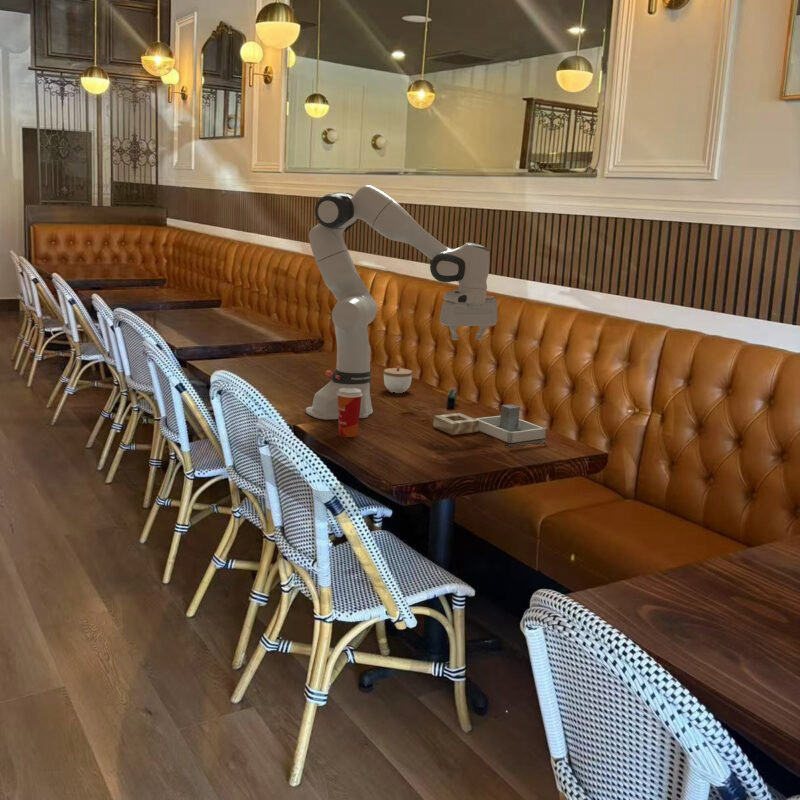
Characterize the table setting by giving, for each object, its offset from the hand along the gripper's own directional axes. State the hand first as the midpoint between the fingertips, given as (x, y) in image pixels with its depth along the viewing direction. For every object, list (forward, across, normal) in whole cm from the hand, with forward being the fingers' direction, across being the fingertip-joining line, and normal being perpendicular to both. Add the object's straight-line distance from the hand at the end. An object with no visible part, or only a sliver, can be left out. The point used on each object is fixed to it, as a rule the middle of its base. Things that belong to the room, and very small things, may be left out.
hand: (466, 339), depth 276 cm
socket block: (+28, +7, +9) cm, 30 cm away
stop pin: (+26, -6, +19) cm, 33 cm away
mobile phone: (+29, -14, -23) cm, 40 cm away
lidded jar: (+30, -7, -48) cm, 57 cm away
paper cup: (+30, +39, -2) cm, 49 cm away
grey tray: (+27, -6, +19) cm, 34 cm away
